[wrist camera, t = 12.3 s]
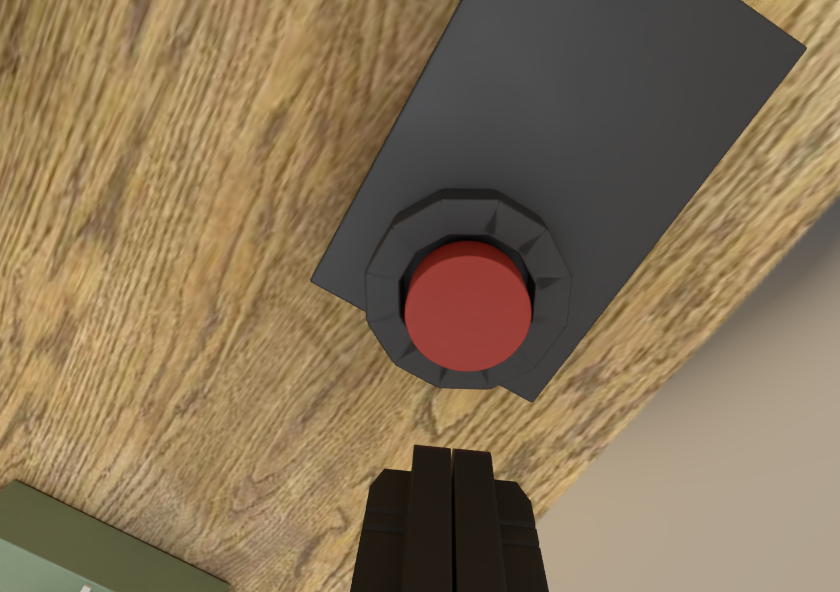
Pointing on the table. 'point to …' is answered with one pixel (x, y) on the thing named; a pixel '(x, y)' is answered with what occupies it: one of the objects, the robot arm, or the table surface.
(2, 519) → the dial panel
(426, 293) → the button
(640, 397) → the table surface
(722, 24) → the button box
